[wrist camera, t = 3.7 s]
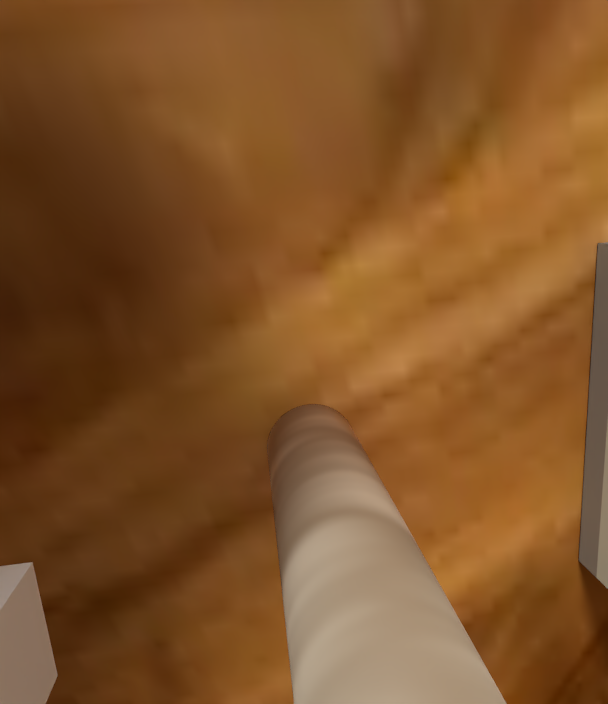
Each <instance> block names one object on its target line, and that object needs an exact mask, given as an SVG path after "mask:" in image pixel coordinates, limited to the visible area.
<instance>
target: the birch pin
mask: <svg viewBox="0 0 608 704" xmlns="http://www.w3.org/2000/svg"><path fill="white" fill-rule="evenodd" d="M267 453H268V463H269V472H270V482H271V491H272V500H273V510H274V519H275V529H276V538H277V547H278V557H279V566H280V576H281V585H282V595H283V604H284V613H285V623H286V632H287V642H288V651H289V660H290V670H291V679H292V689H293V698H294V704H506V702H505V700H504V698H503V697H502V695H501V693H500V691H499V689H498V688H497V686H496V684H495V682H494V680H493V679H492V677H491V675H490V673H489V672H488V670H487V668H486V666H485V664H484V663H483V661H482V659H481V657H480V656H479V654H478V652H477V650H476V648H475V647H474V645H473V643H472V641H471V640H470V638H469V636H468V634H467V632H466V631H465V629H464V627H463V625H462V624H461V622H460V620H459V618H458V616H457V615H456V613H455V611H454V609H453V607H452V606H451V604H450V602H449V600H448V599H447V597H446V595H445V593H444V591H443V590H442V588H441V586H440V584H439V583H438V581H437V579H436V577H435V575H434V574H433V572H432V570H431V568H430V567H429V565H428V563H427V561H426V559H425V558H424V556H423V554H422V552H421V550H420V549H419V547H418V545H417V543H416V542H415V540H414V538H413V536H412V534H411V533H410V531H409V529H408V527H407V526H406V524H405V522H404V520H403V518H402V517H401V515H400V513H399V511H398V510H397V508H396V506H395V504H394V502H393V501H392V499H391V497H390V495H389V493H388V492H387V490H386V488H385V486H384V485H383V483H382V481H381V479H380V477H379V476H378V474H377V472H376V470H375V469H374V467H373V465H372V463H371V461H370V460H369V458H368V456H367V454H366V453H365V451H364V449H363V447H362V445H361V444H360V442H359V440H358V438H357V436H356V435H355V433H354V431H353V429H352V428H351V426H350V424H349V423H348V421H347V420H346V419H345V417H344V416H343V415H341V414H340V413H339V412H337V411H336V410H334V409H332V408H330V407H327V406H323V405H317V404H309V405H303V406H299V407H296V408H294V409H292V410H290V411H288V412H287V413H285V414H284V415H283V416H282V417H281V418H280V419H279V420H278V421H277V422H276V423H275V425H274V426H273V428H272V430H271V432H270V434H269V438H268V443H267Z"/></svg>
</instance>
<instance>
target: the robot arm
mask: <svg viewBox="0 0 608 704" xmlns="http://www.w3.org/2000/svg"><path fill="white" fill-rule="evenodd" d="M57 676H58V675H57V670H56V665H55V661H54V656H53V652H52V647H51V643H50V638H49V634H48V629H47V625H46V620H45V616H44V611H43V607H42V602H41V598H40V593H39V589H38V584H37V580H36V575H35V571H34V566H33V562H29V563H21V564H14V565H6V566H0V704H46V701H47V699H48V697H49V695H50V692H51V690H52V688H53V685H54V683H55V681H56V678H57Z"/></svg>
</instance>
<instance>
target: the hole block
mask: <svg viewBox="0 0 608 704" xmlns="http://www.w3.org/2000/svg"><path fill="white" fill-rule="evenodd" d="M579 561H580V562H581V563H582V564H583V565H584V566H585V567H586V568H587V569H588V570H589V571H590V572H591V573H592V574H593V575H594V576H595V577H596V578H597V579H598V580H599V581H600V582H601V583H602V584H603V585H604V586H605V587H606V588H607V589H608V243H598V251H597V267H596V284H595V300H594V317H593V334H592V350H591V367H590V383H589V400H588V416H587V433H586V449H585V466H584V483H583V499H582V516H581V532H580V549H579Z"/></svg>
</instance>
